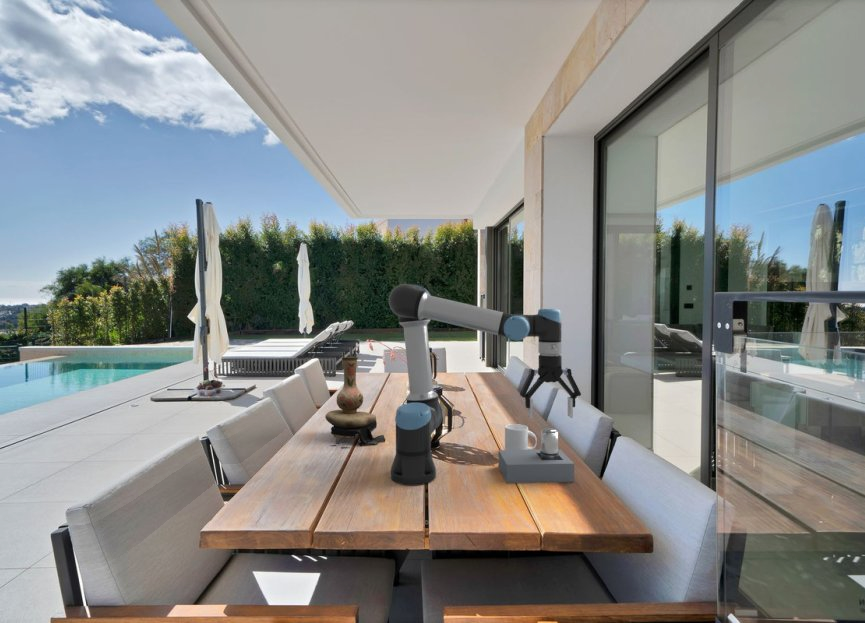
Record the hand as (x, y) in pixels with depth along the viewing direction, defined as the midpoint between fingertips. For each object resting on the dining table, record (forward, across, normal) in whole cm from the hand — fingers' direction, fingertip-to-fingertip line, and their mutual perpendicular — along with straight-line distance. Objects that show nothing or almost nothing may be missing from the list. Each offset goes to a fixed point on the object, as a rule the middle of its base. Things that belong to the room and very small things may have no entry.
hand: (550, 417), depth 149 cm
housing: (+19, -6, 0) cm, 20 cm away
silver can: (+17, 0, 0) cm, 17 cm away
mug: (+19, -6, +19) cm, 28 cm away
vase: (+19, -72, +42) cm, 85 cm away
